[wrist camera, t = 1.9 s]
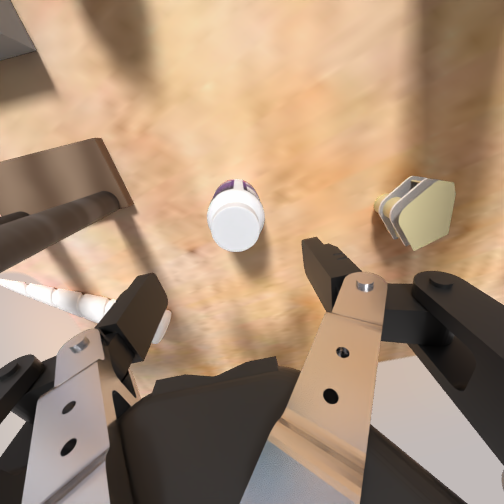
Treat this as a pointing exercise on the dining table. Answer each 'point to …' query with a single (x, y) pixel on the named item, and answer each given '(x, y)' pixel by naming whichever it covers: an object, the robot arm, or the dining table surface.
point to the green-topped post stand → (55, 197)
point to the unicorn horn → (76, 302)
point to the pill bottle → (235, 215)
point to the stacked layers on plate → (417, 210)
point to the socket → (12, 33)
